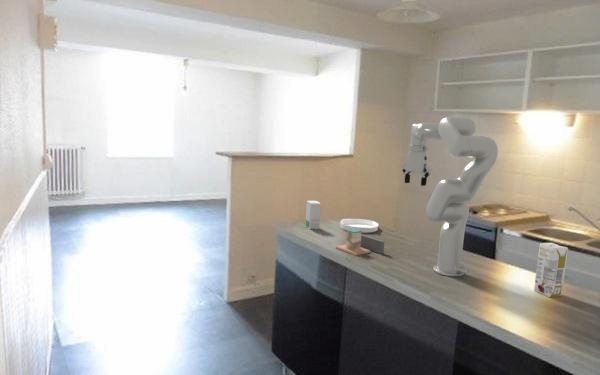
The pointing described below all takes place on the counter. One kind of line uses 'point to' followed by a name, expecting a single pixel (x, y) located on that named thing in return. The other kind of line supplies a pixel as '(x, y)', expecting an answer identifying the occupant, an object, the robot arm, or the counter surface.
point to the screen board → (372, 244)
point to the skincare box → (313, 214)
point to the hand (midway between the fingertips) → (415, 184)
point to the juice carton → (550, 269)
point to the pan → (359, 225)
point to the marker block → (353, 239)
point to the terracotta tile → (353, 252)
